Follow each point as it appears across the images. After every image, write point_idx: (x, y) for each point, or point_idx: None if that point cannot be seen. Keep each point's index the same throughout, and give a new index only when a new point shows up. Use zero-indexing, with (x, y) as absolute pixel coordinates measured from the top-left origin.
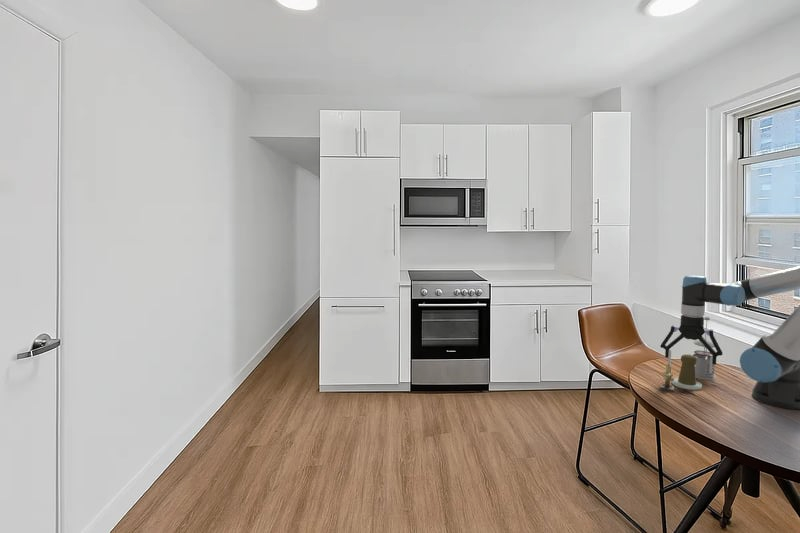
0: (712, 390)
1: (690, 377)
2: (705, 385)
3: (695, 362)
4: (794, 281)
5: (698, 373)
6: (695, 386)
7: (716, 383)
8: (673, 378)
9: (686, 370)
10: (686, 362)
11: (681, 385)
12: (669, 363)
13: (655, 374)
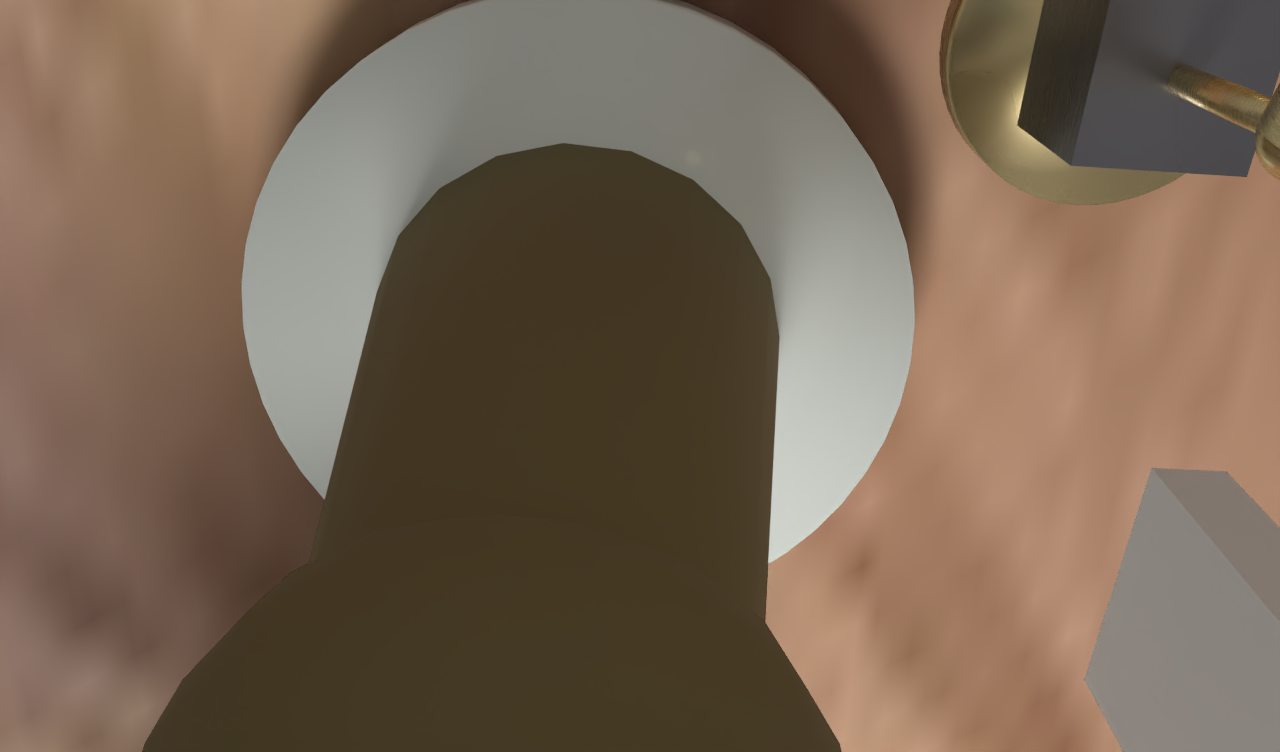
0: (53, 270)
1: (473, 255)
2: (229, 523)
3: (180, 695)
4: None
5: None
6: (370, 124)
7: (77, 733)
8: (961, 65)
9: (589, 358)
10: (595, 537)
11: (708, 17)
12: (1250, 550)
13: None
